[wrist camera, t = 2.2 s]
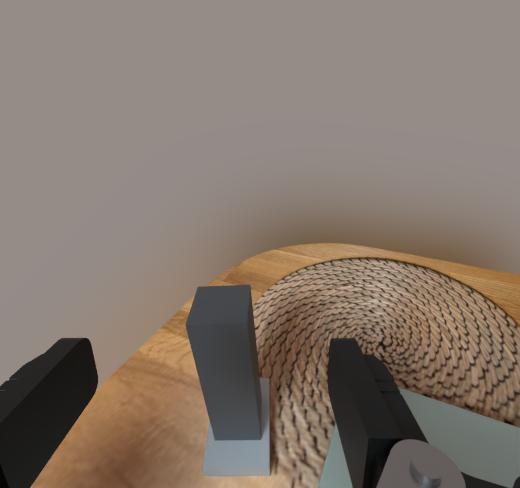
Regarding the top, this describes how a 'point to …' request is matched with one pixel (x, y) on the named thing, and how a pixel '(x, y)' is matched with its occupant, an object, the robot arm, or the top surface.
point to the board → (447, 443)
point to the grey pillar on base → (230, 381)
